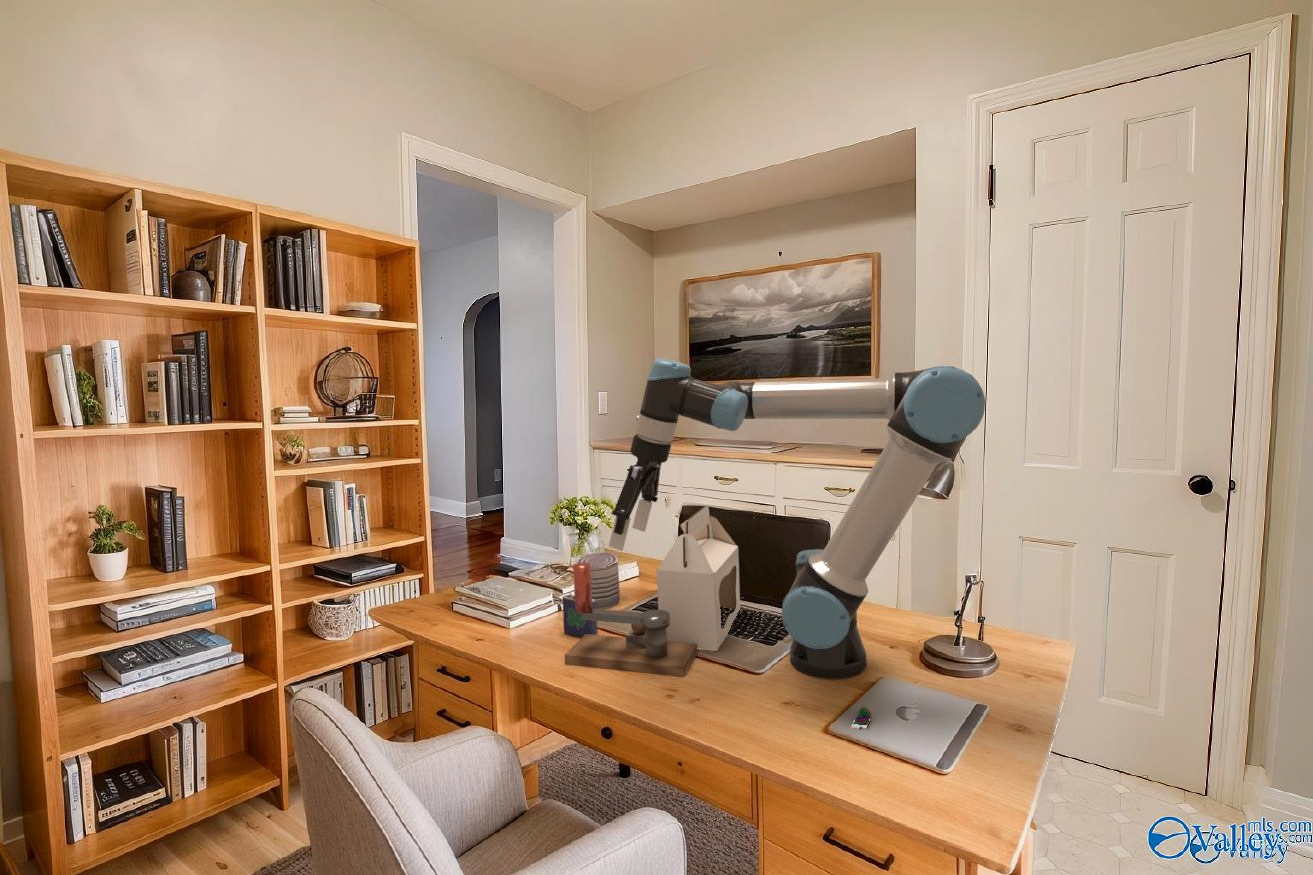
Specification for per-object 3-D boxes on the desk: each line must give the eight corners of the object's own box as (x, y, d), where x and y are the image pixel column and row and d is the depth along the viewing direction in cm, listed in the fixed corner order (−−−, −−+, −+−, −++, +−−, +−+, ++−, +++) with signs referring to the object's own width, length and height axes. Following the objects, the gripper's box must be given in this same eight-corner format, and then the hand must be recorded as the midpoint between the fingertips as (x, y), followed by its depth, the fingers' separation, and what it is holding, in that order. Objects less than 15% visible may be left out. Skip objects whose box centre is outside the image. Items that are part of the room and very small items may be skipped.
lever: (673, 619, 138) (671, 565, 136) (665, 631, 132) (662, 574, 131) (582, 612, 144) (579, 560, 143) (570, 623, 138) (567, 568, 137)
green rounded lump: (854, 717, 113) (853, 704, 113) (871, 721, 112) (870, 708, 112) (848, 729, 110) (847, 716, 109) (865, 734, 108) (865, 720, 108)
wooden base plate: (697, 652, 140) (696, 616, 140) (684, 676, 130) (682, 637, 129) (586, 642, 148) (584, 607, 148) (565, 663, 138) (562, 626, 137)
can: (629, 600, 175) (627, 556, 173) (599, 613, 166) (597, 567, 165) (598, 592, 182) (596, 550, 180) (568, 604, 173) (565, 560, 172)
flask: (600, 636, 152) (597, 591, 150) (593, 641, 149) (590, 595, 148) (568, 630, 156) (565, 586, 155) (560, 634, 154) (557, 590, 152)
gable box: (689, 610, 166) (685, 501, 163) (740, 615, 161) (737, 503, 158) (659, 646, 145) (653, 522, 142) (717, 652, 140) (712, 525, 137)
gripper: (654, 425, 140) (631, 516, 144) (612, 441, 116) (586, 550, 121) (687, 435, 138) (662, 528, 143) (651, 454, 115) (623, 564, 119)
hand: (627, 538), depth 132 cm, fingers open, 13 cm apart
